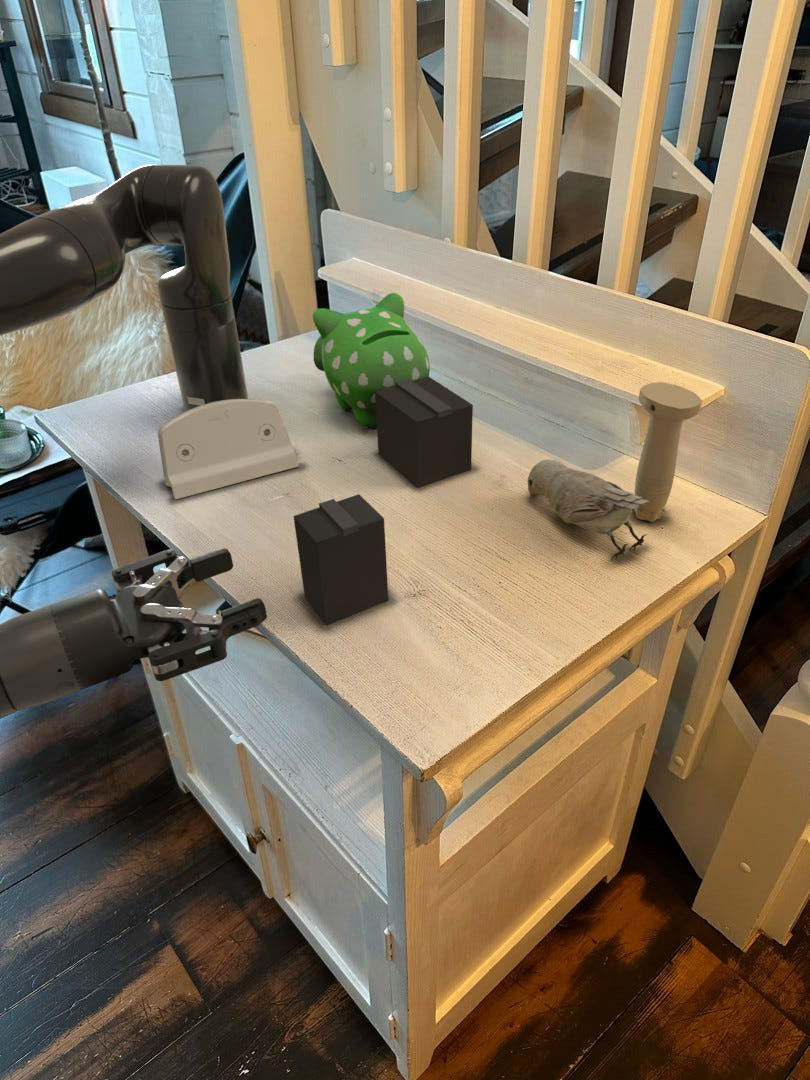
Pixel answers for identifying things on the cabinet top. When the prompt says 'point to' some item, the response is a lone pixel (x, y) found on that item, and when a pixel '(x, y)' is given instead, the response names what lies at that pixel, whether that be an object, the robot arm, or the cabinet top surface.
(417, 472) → the black taped box
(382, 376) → the piggy bank
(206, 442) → the white wall mount bracket
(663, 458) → the handle
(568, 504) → the decorative bird
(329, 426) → the cabinet top surface
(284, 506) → the cabinet top surface
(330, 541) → the black box
